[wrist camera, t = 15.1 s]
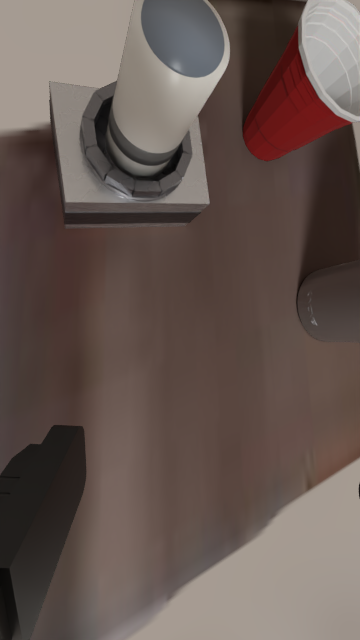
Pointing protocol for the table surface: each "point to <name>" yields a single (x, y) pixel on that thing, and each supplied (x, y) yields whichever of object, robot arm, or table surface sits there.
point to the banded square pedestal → (107, 180)
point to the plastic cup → (309, 82)
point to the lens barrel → (163, 81)
